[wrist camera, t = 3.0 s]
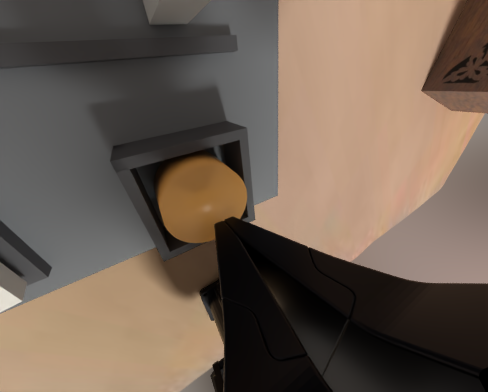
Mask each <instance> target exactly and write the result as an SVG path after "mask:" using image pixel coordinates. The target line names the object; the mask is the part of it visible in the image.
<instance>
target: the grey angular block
mask: <svg viewBox="0 0 488 392" xmlns="http://www.w3.org/2000/svg"><path fill="white" fill-rule="evenodd" d="M210 1H211V0H143V3H144V7H145V10H146V14H147V17H148V21H149V24H150V25H164V24H188V23H189V22H190V21H191V20H192V19H193V18H194V17H195V16H196V15H197V14H198V13H199V12H200V11H201V10H202V9H203V8H204V7H205V6H206V5H207V4H208V3H209V2H210Z"/></svg>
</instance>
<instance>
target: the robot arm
mask: <svg viewBox="0 0 488 392" xmlns="http://www.w3.org/2000/svg"><path fill="white" fill-rule="evenodd" d="M214 230H215V240H216V250H217V260H218V270H219V281H217V282H215V283H213V284H212V285H210V286H208V287H206V288H204V289H203V290H201V291H200V296H201V298H202V300H203V303H204V305H205V307H206V310H207V312H208V314H209V317H210V319H211V321H214V320H215V323H216V325H217V328H218V331H219V333H220V336H221V339H222V341H223V344H224V358H223V359H221V360H220V361H217V362H215V363H214V364H213V369H214V371H213V373H212V374H211V379H212V382H213V386H214V389H215V392H488V284H475V283H474V284H473V283H469V284H468V283H463V284H462V283H461V284H460V283H424V282H417V281H411V280H406V279H403V278H399V277H396V276H392V275H389V274H386V273H383V272H380V271H376V270H373V269H370V268H367V267H364V266H360V265H357V264H354V263H351V262H348V261H345V260H342V259H339V258H336V257H333V256H331V255H328V254H325V253H323V252H320V251H318V250H315V249H313V248H310V247H309V248H308V247H307V246H305V245H303V244H300V243H298V242H295V241H293V240H290V239H288V238H285V237H283V236H280V235H278V234H275V233H273V232H270V231H268V230H265V229H263V228H261V227H258V226H256V225H253V224H251V223H248V222H246V221H243V220H241V219H238V218H236V217H233V216H232V217H229V218H227V219H225V220H224V221H220V222H217V223H215V224H214Z"/></svg>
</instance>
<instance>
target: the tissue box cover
mask: <svg viewBox="0 0 488 392" xmlns="http://www.w3.org/2000/svg"><path fill="white" fill-rule="evenodd" d="M421 91H422V92H424V93H425V94H427V95H428V96H430V97H431V98H433V99H434V100H436V101H437V102H439V103H440V104H442V105H444V106H445V107H447V108H448V109H450V110H451V111H462V112H476V113H488V0H468V1H467V3H466V5H465V7H464V9H463V11H462V13H461V15H460V16H459V18H458V20H457V22H456V24H455V26H454V28H453V30H452V32H451V34H450V36H449V38H448V40H447V42H446V44H445V46H444V48H443V50H442V52H441V53H440V55H439V57H438V59H437V61H436V63H435V65H434V67H433V69H432V71H431V73H430V75H429V77H428V79H427V81H426V83H425V85H424V87H423V89H422V90H421Z"/></svg>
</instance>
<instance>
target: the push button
mask: <svg viewBox="0 0 488 392" xmlns="http://www.w3.org/2000/svg"><path fill="white" fill-rule="evenodd" d="M154 191H155V195H156V198H157V202H158V205H159V209H160V212H161V216H162V219H163V222H164V225H165V227H166V229H167V230H168V231H169V233H170V234H171V235H173V236H174V237H175V238H177V239H179V240H181V241H184V242H188V243H203V242H208V241H211V240H214V239H215V230H214V224H215V223H217V222H220V221H224V220H225V219H227V218H229V217H232V216H233V217H236V218H238V219H240V218H241V216H242V214H243V212H244V210H245V207H246V203H247V190H246V187H245V184H244V182H243V180H242V179H241V177H240V176H239V175H238V174H237V173H235V172H234V171H233V170H232V169H230V168H229V167H228V166H226V165H225V164H224V163H223V162H221V161H220V160H219V159H217V158H216V157H215V156H213V155H212V154H210V153H209V152H206V151H204V150H200V151H196V152H193V153H189V154H185V155H181V156H178V157H174V158H170V159H166V160H164V161H163V163H162V164H161V165H160V166H159V168H158V170H157V172H156V174H155V178H154Z"/></svg>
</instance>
